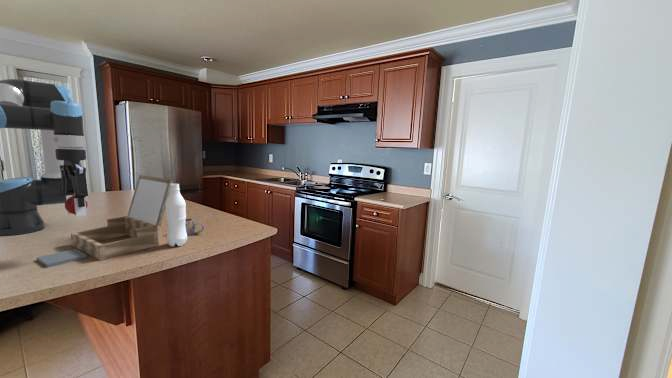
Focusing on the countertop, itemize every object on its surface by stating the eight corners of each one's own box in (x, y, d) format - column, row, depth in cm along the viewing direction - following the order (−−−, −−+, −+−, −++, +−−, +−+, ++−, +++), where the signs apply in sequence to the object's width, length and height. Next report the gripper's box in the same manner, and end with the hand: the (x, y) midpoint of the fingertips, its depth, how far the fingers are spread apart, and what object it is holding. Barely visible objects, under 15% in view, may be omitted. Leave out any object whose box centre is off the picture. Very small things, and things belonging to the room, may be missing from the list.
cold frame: (72, 245, 107) (70, 225, 106) (128, 233, 124) (126, 216, 123) (100, 260, 95) (98, 238, 94) (158, 244, 111) (157, 225, 110)
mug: (173, 235, 123) (173, 221, 122) (183, 231, 130) (182, 217, 129) (199, 237, 123) (199, 222, 122) (207, 232, 130) (207, 218, 129)
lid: (139, 175, 125) (142, 175, 126) (127, 216, 123) (130, 216, 124) (170, 179, 113) (173, 180, 114) (158, 225, 110) (161, 226, 111)
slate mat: (37, 260, 93) (36, 257, 93) (75, 251, 102) (75, 248, 102) (47, 267, 88) (47, 264, 88) (87, 257, 97) (86, 254, 97)
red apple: (75, 217, 94) (72, 194, 93) (61, 216, 95) (58, 193, 94) (92, 214, 100) (90, 192, 99) (79, 212, 101) (77, 191, 100)
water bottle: (191, 243, 115) (189, 183, 111) (176, 248, 108) (173, 185, 104) (178, 240, 117) (175, 182, 113) (163, 246, 110) (159, 184, 107)
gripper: (44, 147, 95) (51, 212, 99) (67, 149, 87) (75, 220, 90) (72, 147, 102) (78, 209, 105) (97, 149, 93) (102, 216, 96)
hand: (77, 214), depth 98 cm, fingers closed on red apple, 6 cm apart
